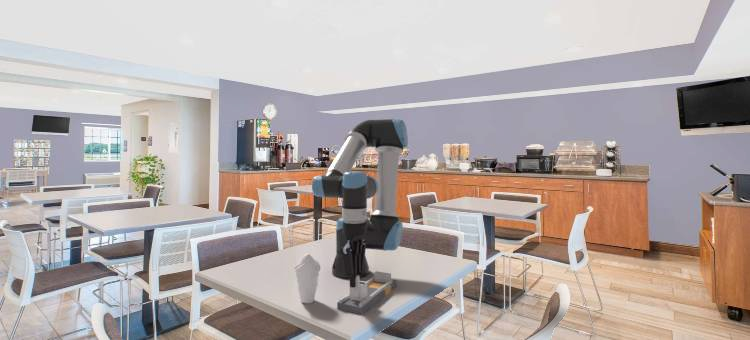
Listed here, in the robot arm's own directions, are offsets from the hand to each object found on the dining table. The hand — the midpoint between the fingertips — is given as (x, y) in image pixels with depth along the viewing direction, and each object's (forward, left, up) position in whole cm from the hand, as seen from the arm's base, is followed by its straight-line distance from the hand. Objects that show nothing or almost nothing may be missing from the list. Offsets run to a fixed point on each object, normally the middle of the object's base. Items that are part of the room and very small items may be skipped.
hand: (354, 296), depth 113 cm
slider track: (0, +10, -4) cm, 11 cm away
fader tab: (0, +3, -2) cm, 3 cm away
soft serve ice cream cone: (-16, -2, -4) cm, 17 cm away
